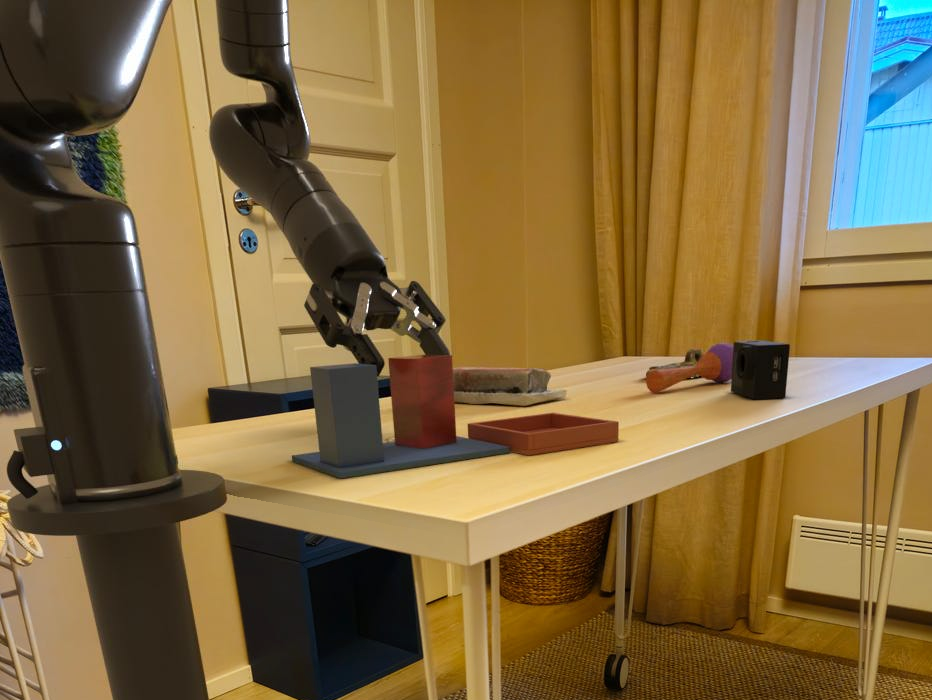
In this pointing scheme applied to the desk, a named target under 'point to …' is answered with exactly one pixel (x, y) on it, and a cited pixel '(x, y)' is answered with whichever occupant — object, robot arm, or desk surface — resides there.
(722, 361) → the orange and purple microphone
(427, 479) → the desk surface
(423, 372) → the red block
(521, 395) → the weathered brick on slab
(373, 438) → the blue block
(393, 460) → the blue mat
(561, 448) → the red tray
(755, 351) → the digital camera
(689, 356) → the seal
